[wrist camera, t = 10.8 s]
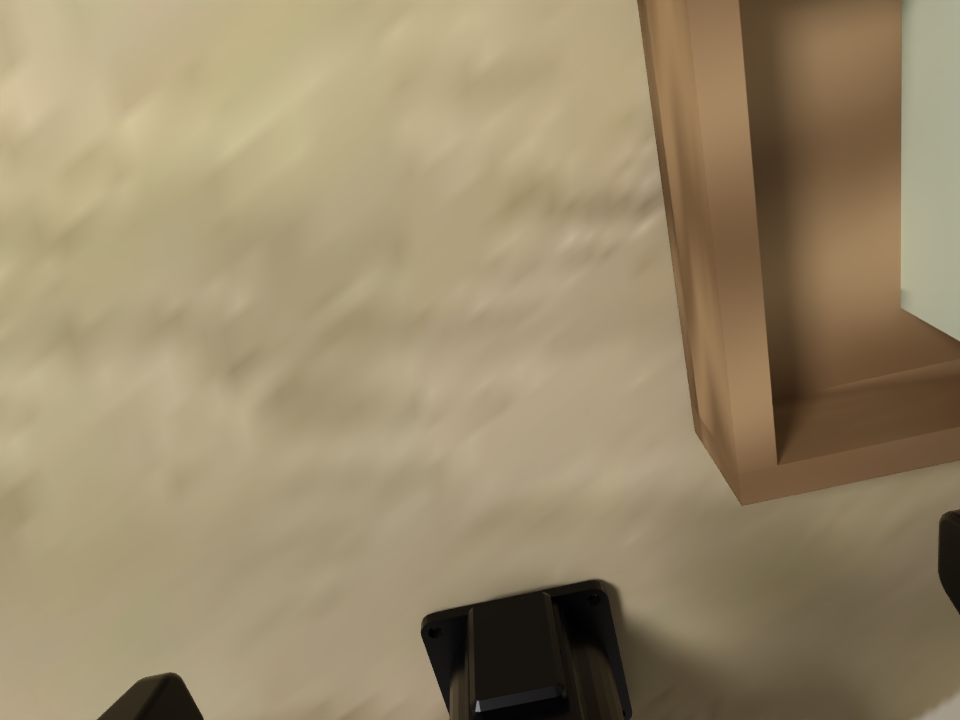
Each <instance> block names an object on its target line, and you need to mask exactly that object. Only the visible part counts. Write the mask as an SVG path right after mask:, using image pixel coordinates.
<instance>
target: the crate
mask: <svg viewBox="0 0 960 720" xmlns="http://www.w3.org/2000/svg"><path fill="white" fill-rule="evenodd" d="M637 2H638V10H639V17H640V25H641V32H642V39H643V47H644V54H645V62H646V69H647V77H648V84H649V92H650V99H651V107H652V114H653V122H654V129H655V136H656V144H657V151H658V159H659V166H660V174H661V181H662V189H663V196H664V204H665V211H666V219H667V226H668V234H669V241H670V248H671V256H672V263H673V271H674V278H675V286H676V293H677V301H678V308H679V316H680V323H681V331H682V338H683V345H684V353H685V360H686V368H687V375H688V383H689V390H690V398H691V405H692V413H693V420H694V428H695V432H696V434H697V436H698V437H699V439H700V440H701V442H702V444H703V445H704V447H705V448H706V450H707V451H708V453H709V455H710V456H711V458H712V459H713V461H714V463H715V464H716V466H717V467H718V469H719V470H720V472H721V474H722V475H723V477H724V478H725V480H726V482H727V483H728V485H729V486H730V488H731V489H732V491H733V493H734V494H735V496H736V497H737V499H738V501H739V502H740V504H741V505H742V506H744V505H748V504H753V503H758V502H763V501H767V500H772V499H777V498H782V497H786V496H791V495H796V494H801V493H805V492H810V491H815V490H820V489H824V488H829V487H834V486H839V485H843V484H848V483H853V482H858V481H862V480H867V479H872V478H877V477H881V476H886V475H891V474H896V473H901V472H905V471H910V470H915V469H920V468H924V467H929V466H934V465H939V464H943V463H948V462H953V461H958V460H960V341H958V340H957V339H955V338H953V337H951V336H950V335H948V334H946V333H944V332H943V331H941V330H939V329H937V328H935V327H934V326H932V325H930V324H928V323H927V322H925V321H923V320H921V319H920V318H918V317H916V316H914V315H913V314H911V313H909V312H907V311H905V310H904V309H902V308H901V102H902V0H637Z"/></svg>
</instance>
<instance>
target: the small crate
mask: <svg viewBox="0 0 960 720" xmlns="http://www.w3.org/2000/svg"><path fill="white" fill-rule="evenodd" d="M901 308H902V309H904V310H905V311H907V312H909V313H911V314H913V315H914V316H916V317H918V318H920V319H921V320H923V321H925V322H927V323H928V324H930V325H932V326H934V327H935V328H937V329H939V330H941V331H943V332H944V333H946V334H948V335H950V336H951V337H953V338H955V339H957V340H958V341H960V0H902V102H901Z"/></svg>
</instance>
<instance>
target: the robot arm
mask: <svg viewBox="0 0 960 720" xmlns="http://www.w3.org/2000/svg"><path fill="white" fill-rule="evenodd" d="M938 573H939V578H940V581H941V584H942V586H943V588H944V590H945V592H946V594H947V595H948V597H949V599H950V600H951V602H952V603H953V605H954V606H955V608H956V609H957V611H958V613H959V614H960V509H959V510H954V511H949V512H947V513H945V514H943V515H942V517H941V519H940V522H939V545H938ZM590 595H597V596H596V597H594V598H587V597H588V596H590ZM432 627H438V628H441V629H438V630H433V629H431V628H432ZM421 636H422V639H423V642H424V645H425V647H426V650H427V653H428V656H429V659H430V662H431V664H432V667H433V670H434V673H435V676H436V678H437V681H438V684H439V687H440V690H441V693H442V695H443V698H444V701H445V704H446V707H447V710H448V712H449V715H450V720H630V718H631V717H632V709H631V704H630V700H629V695H628V690H627V685H626V681H625V676H624V671H623V667H622V662H621V657H620V652H619V648H618V643H617V638H616V634H615V629H614V624H613V619H612V615H611V610H610V605H609V600H608V596H607V593H606V589H605V587H604V585H603V584H601V583H600V582H597V581H586V582H582V583H577V584H572V585H567V586H562V587H557V588H552V589H548V590H543V591H538V592H533V593H528V594H523V595H518V596H514V597H509V598H504V599H499V600H494V601H489V602H485V603H480V604H475V605H470V606H465V607H460V608H455V609H451V610H446V611H441V612H436V613H432V614H429V615H427V616H426V617H424V618H423V620H422V623H421ZM97 720H204V719H203V716H202V714H201V713H200V711H199V709H198V707H197V705H196V703H195V702H194V700H193V698H192V696H191V694H190V692H189V691H188V689H187V687H186V685H185V683H184V682H183V680H182V678H181V677H180V676H179V675H177V674H176V673H171V672H170V673H164V674H159V675H154V676H150V677H146V678H143V679H141V680H139V681H138V682H136V683H135V684H134V685H133V686H132V687H131V688H130V689H129V690H128V691H127V692H126V693H125V694H124V695H122V696H121V697H120V698H119V699H118V700H117V701H116V702H115V703H114V704H113V705H112V706H111V707H110V708H109V709H108V710H107V711H106V712H105V713H103V714H102V715H101V716H100V717H99V718H98V719H97Z"/></svg>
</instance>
